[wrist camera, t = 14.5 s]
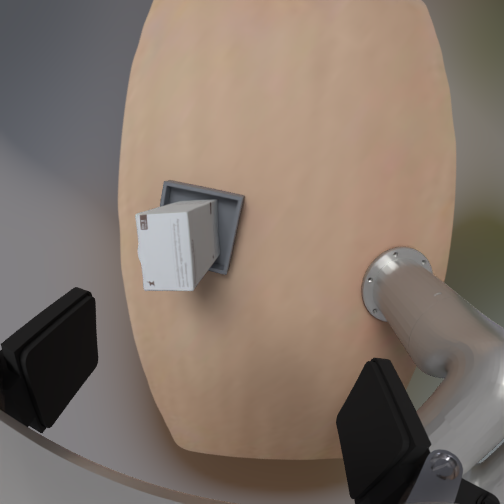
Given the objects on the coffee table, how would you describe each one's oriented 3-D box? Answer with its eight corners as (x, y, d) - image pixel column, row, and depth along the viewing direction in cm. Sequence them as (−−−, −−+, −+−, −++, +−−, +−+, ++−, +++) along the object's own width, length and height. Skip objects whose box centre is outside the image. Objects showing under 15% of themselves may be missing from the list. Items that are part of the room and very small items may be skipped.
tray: (244, 195, 42) (242, 197, 39) (228, 268, 45) (226, 274, 42) (170, 180, 41) (164, 181, 39) (159, 251, 45) (152, 256, 42)
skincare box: (221, 253, 44) (197, 296, 29) (181, 254, 44) (142, 295, 30) (217, 195, 41) (190, 211, 27) (176, 197, 42) (131, 215, 27)
